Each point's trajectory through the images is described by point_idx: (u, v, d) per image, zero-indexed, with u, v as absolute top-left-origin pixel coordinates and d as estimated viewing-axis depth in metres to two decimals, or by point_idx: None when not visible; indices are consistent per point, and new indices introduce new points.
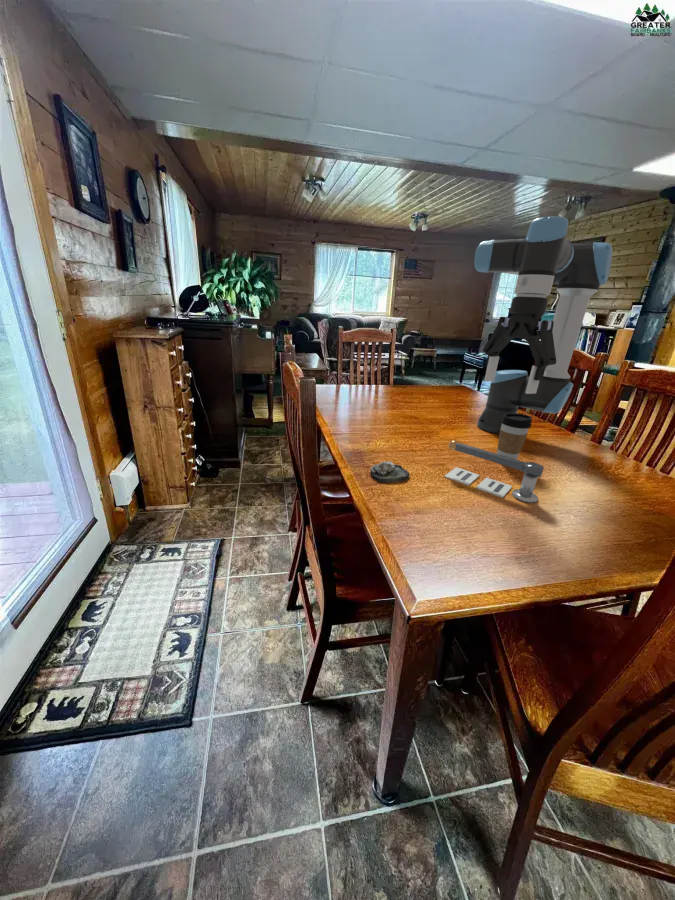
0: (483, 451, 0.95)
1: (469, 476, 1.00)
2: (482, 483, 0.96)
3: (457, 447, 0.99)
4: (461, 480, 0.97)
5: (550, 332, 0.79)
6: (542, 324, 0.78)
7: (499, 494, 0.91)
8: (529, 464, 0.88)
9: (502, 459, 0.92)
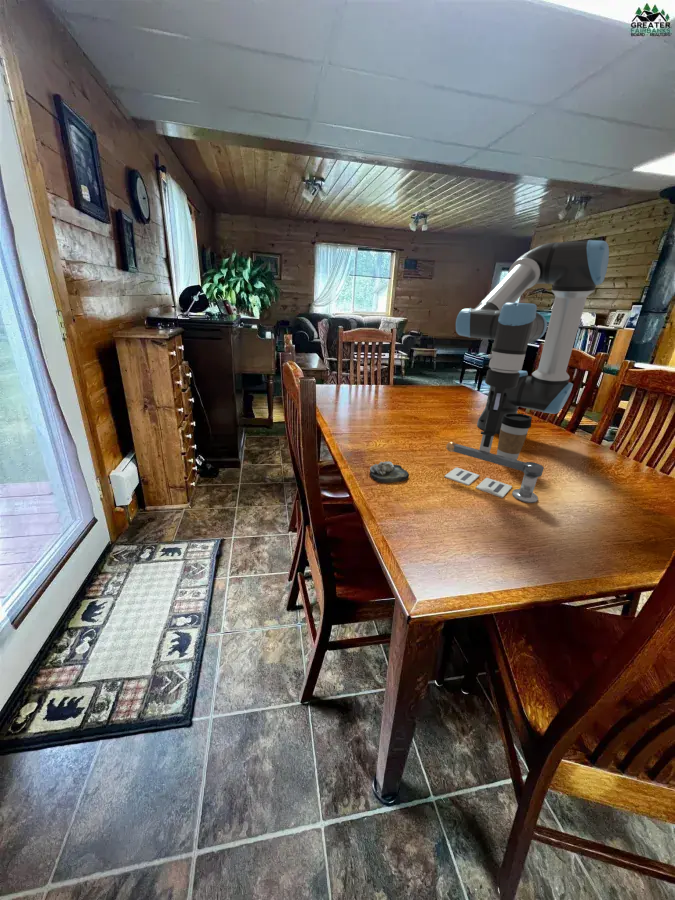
0: (482, 452, 0.94)
1: (469, 476, 1.00)
2: (482, 483, 0.96)
3: (456, 449, 0.98)
4: (461, 480, 0.97)
5: (497, 412, 0.87)
6: None
7: (499, 494, 0.91)
8: (529, 464, 0.88)
9: (502, 460, 0.91)
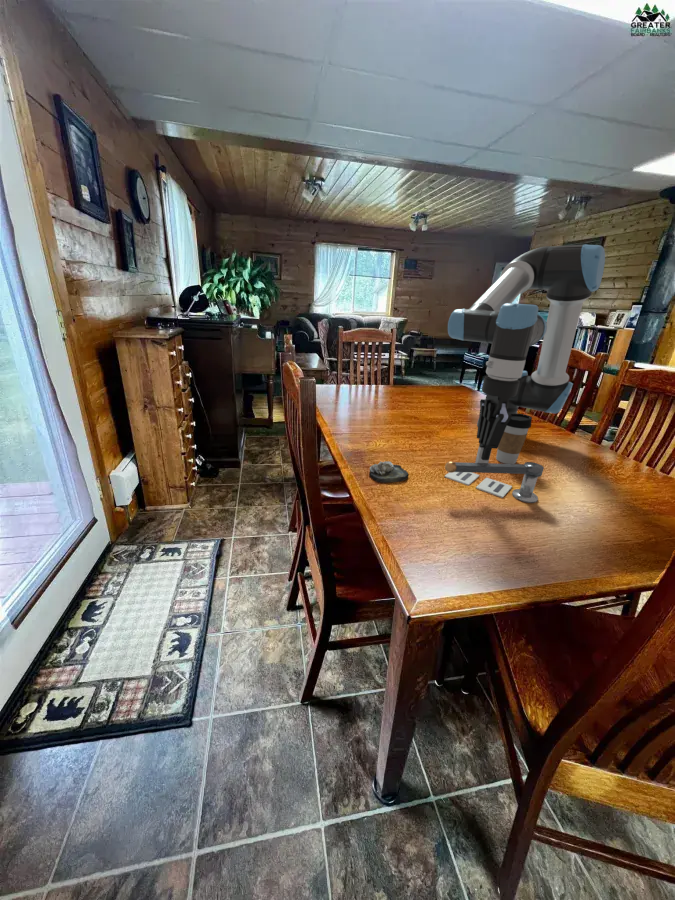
0: (486, 465, 0.87)
1: (469, 476, 1.00)
2: (482, 483, 0.96)
3: (458, 468, 0.86)
4: (461, 480, 0.97)
5: (504, 424, 0.79)
6: (498, 416, 0.78)
7: (499, 494, 0.91)
8: (530, 465, 0.88)
9: (507, 468, 0.87)
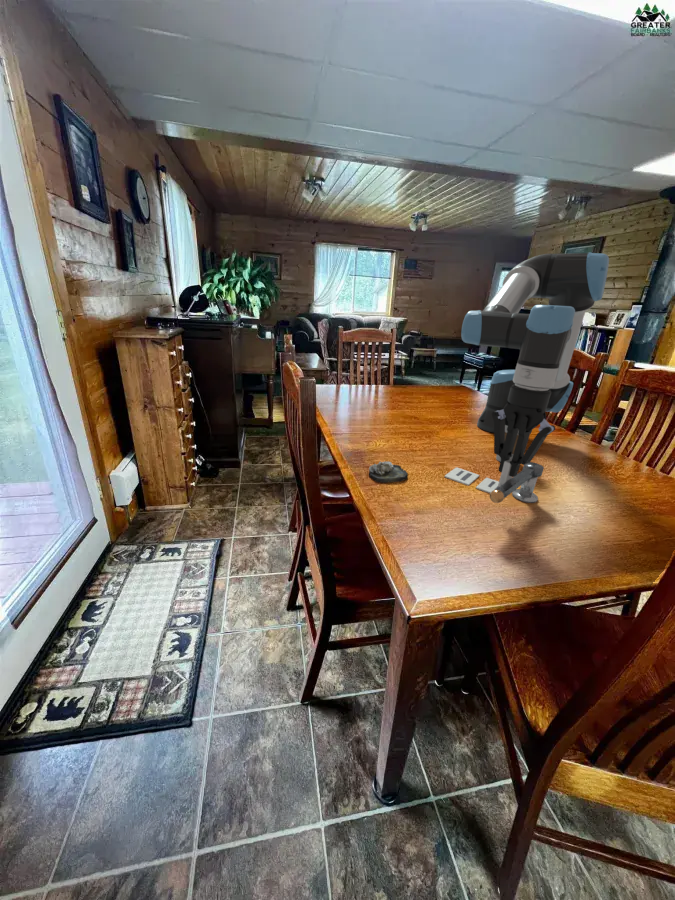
0: (516, 481, 0.80)
1: (469, 476, 1.00)
2: (482, 483, 0.96)
3: (504, 495, 0.75)
4: (461, 480, 0.97)
5: (545, 437, 0.73)
6: (544, 430, 0.71)
7: None
8: (532, 466, 0.87)
9: (526, 477, 0.83)
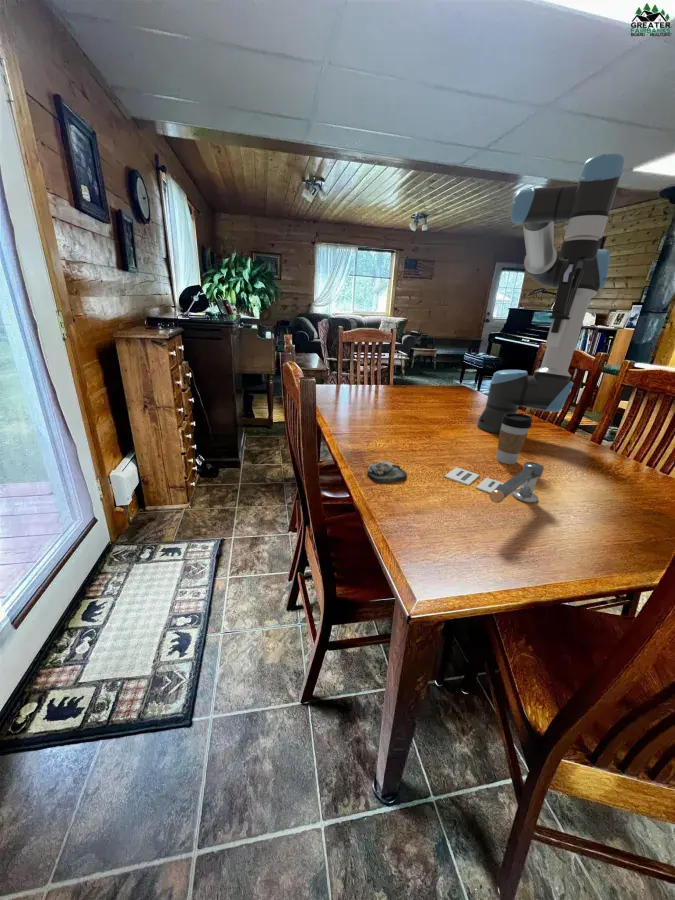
0: (516, 481, 0.80)
1: (469, 476, 1.00)
2: (482, 483, 0.96)
3: (504, 495, 0.75)
4: (461, 480, 0.97)
5: (567, 284, 0.81)
6: None
7: None
8: (532, 466, 0.87)
9: (526, 477, 0.83)
